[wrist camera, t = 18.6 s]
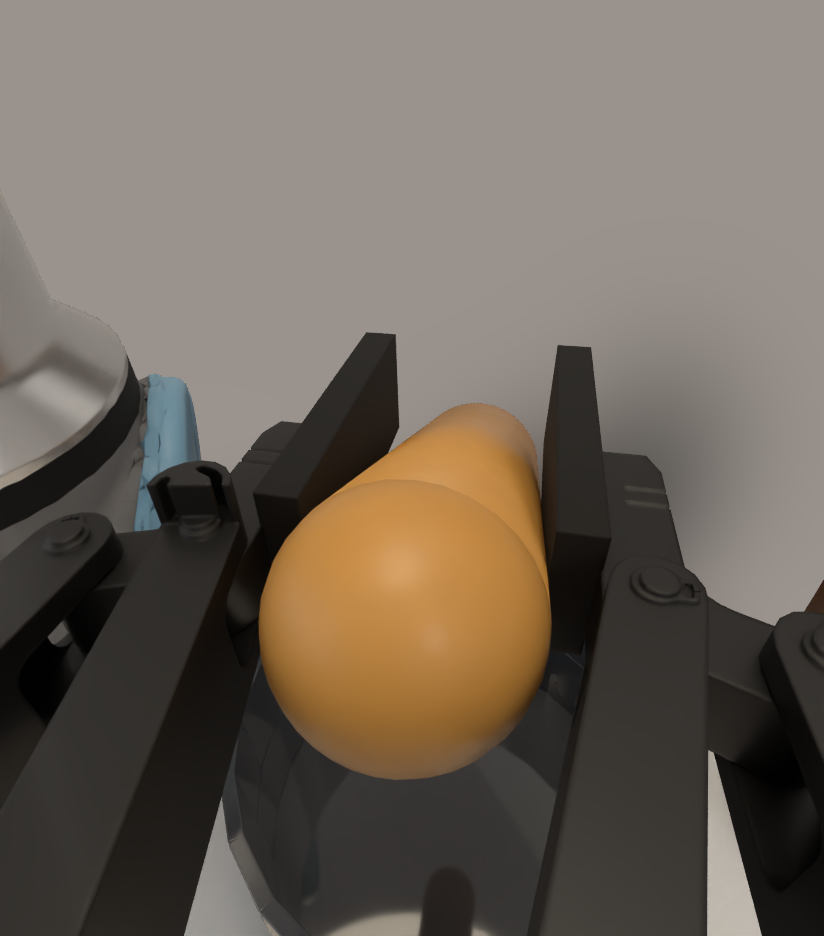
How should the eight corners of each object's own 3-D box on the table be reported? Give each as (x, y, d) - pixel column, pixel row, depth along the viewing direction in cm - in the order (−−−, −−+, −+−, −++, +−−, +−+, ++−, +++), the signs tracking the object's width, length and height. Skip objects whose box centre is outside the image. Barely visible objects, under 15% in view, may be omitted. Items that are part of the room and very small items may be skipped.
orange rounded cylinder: (535, 902, 6) (585, 553, 5) (198, 819, 7) (190, 501, 6) (529, 511, 20) (542, 403, 19) (423, 498, 21) (430, 393, 20)
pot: (206, 782, 31) (153, 678, 25) (461, 610, 40) (467, 504, 34) (423, 1254, 18) (419, 1269, 13) (718, 845, 28) (795, 744, 22)
